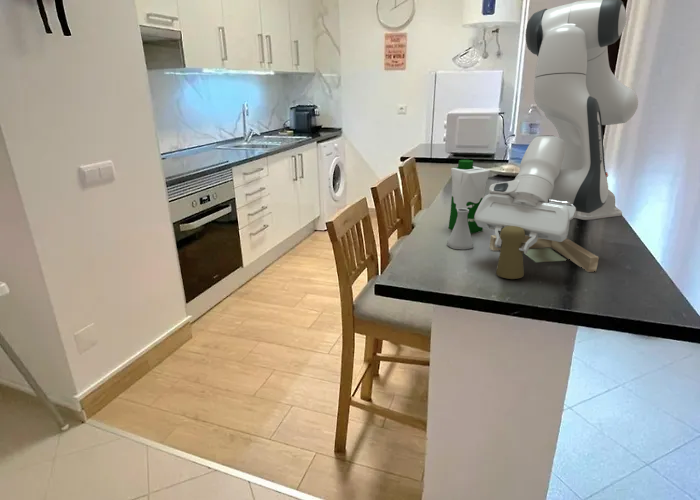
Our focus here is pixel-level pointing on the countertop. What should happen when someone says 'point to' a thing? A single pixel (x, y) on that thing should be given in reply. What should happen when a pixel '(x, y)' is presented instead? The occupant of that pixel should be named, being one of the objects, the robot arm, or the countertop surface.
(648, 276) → the countertop surface
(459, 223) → the flask
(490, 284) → the countertop surface
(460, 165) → the milk carton
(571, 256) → the corner arena
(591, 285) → the countertop surface
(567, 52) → the robot arm
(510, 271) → the cork
